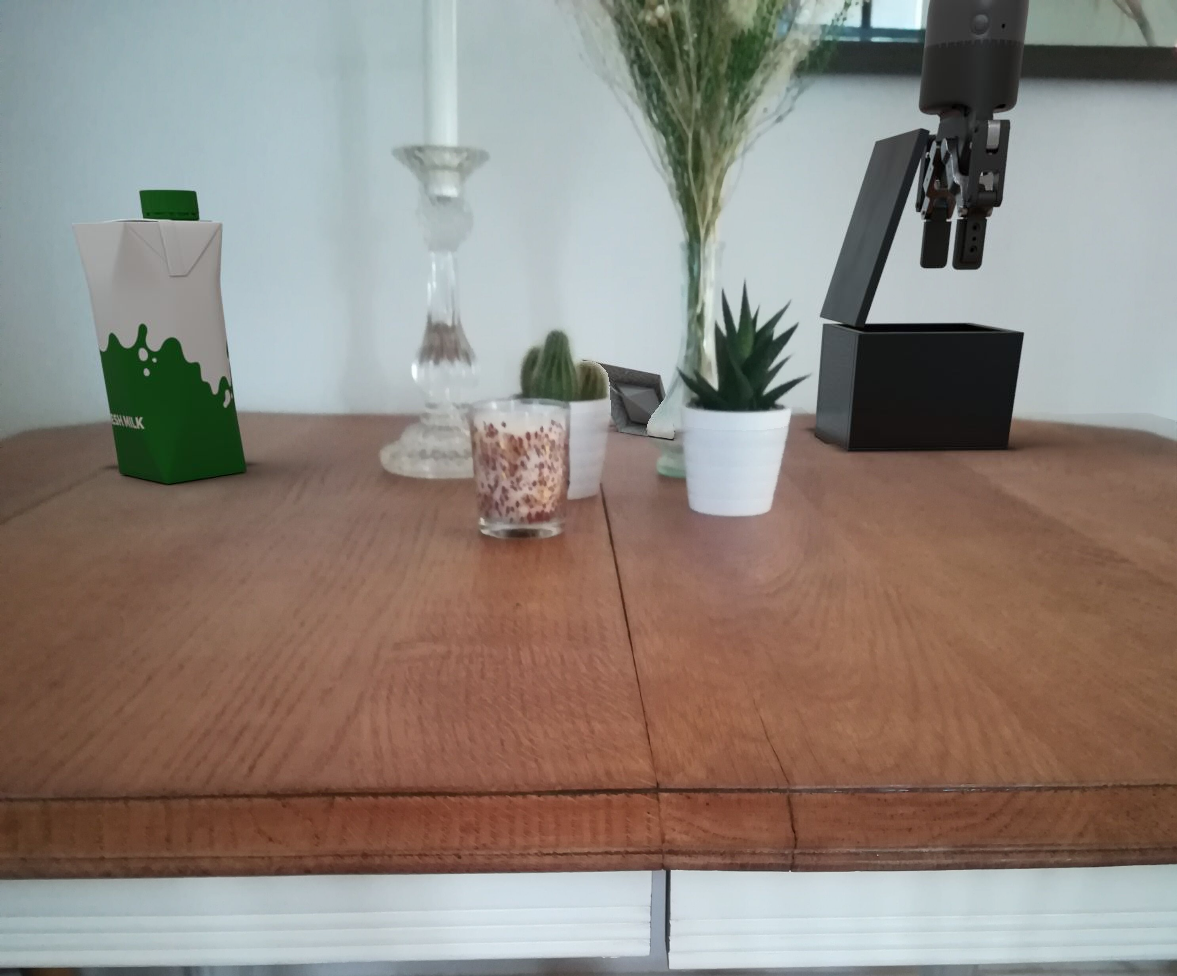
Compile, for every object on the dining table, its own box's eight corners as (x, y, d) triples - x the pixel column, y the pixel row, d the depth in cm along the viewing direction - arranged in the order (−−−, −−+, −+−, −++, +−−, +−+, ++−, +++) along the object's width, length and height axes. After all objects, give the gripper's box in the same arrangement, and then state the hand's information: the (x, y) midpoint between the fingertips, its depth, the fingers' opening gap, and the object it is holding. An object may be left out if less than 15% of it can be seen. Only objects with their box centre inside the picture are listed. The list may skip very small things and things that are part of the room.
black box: (956, 434, 109) (971, 322, 105) (1006, 456, 98) (1024, 332, 94) (814, 435, 109) (822, 323, 105) (847, 458, 97) (858, 333, 93)
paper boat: (716, 418, 111) (687, 402, 102) (675, 474, 113) (643, 462, 105) (625, 344, 113) (590, 322, 105) (587, 399, 116) (549, 382, 107)
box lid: (884, 143, 99) (875, 141, 99) (930, 130, 87) (920, 127, 87) (827, 319, 105) (819, 317, 104) (863, 328, 93) (854, 326, 93)
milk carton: (263, 471, 92) (230, 190, 84) (160, 488, 86) (113, 185, 78) (201, 459, 98) (164, 193, 89) (100, 474, 91) (50, 189, 83)
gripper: (1058, 26, 84) (1025, 270, 91) (988, 55, 97) (964, 267, 104) (957, 27, 84) (931, 271, 91) (900, 56, 97) (881, 268, 104)
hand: (948, 269), depth 97 cm, fingers open, 8 cm apart
